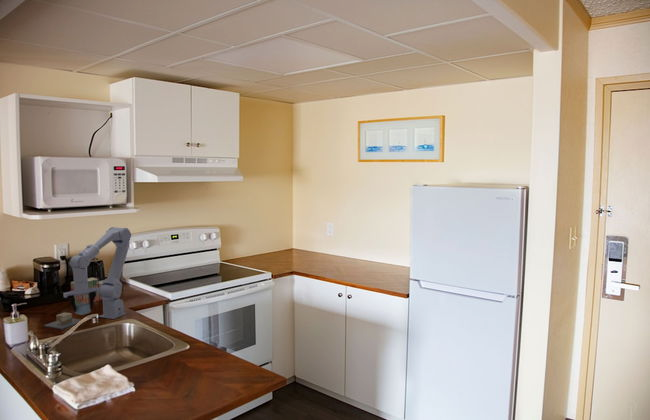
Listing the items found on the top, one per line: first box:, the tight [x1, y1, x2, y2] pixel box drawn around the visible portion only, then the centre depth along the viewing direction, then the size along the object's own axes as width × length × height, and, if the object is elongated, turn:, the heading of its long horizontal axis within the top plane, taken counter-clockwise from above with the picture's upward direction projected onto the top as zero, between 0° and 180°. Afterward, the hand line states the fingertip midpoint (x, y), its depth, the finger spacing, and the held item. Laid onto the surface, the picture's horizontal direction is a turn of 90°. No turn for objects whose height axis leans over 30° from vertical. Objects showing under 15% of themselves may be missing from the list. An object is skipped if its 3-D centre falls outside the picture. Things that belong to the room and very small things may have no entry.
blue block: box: [74, 303, 92, 316], centre depth 214 cm, size 4×4×4 cm
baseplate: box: [43, 317, 82, 330], centre depth 218 cm, size 12×12×1 cm
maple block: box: [56, 312, 73, 325], centre depth 218 cm, size 4×4×4 cm
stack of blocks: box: [70, 277, 104, 305], centre depth 256 cm, size 21×6×12 cm, turn 144°
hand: (82, 309), depth 214 cm, fingers closed on blue block, 6 cm apart
